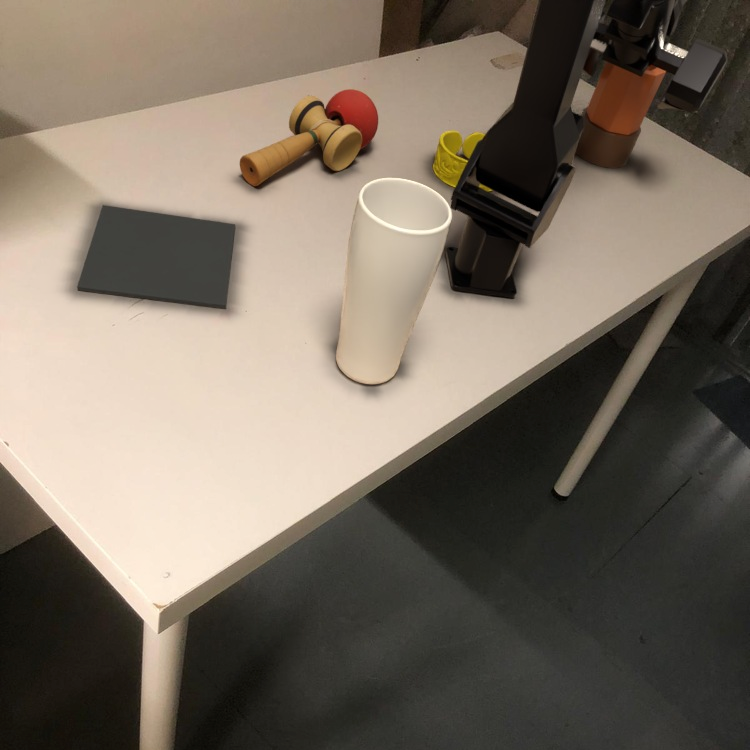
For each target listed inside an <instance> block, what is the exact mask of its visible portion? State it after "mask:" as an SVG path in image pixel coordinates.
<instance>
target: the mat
mask: <svg viewBox="0 0 750 750" xmlns="http://www.w3.org/2000/svg"><path fill="white" fill-rule="evenodd" d="M235 233H236V224H235V223H230V222H221V221H216V220H208V219H201V218H195V217H189V216H182V215H181V216H180V215H175V214H174V215H173V214H169V213H168V214H167V213H159V212H154V211H147V210H139V209H133V208H126V207H120V206H119V207H118V206H111V205H107V204H106V205H105V204H103V205H102V206H101V210H100V213H99V216H98V219H97V222H96V225H95V229H94V232H93V235H92V238H91V240H90V245H89V248H88V251H87V254H86V258H85V260H84V264H83V266H82V270H81V273H80V276H79V280H78V282H77V286H76V289H77V291H81V292H88V293H94V294H95V293H96V294H102V295H103V294H104V295H112V296H119V297H127V298H133V299H143V300H152V301H160V302H168V303H175V304H184V305H191V306H199V307H207V308H214V309H215V308H216V309H223V310H225V309H226V308H227V301H228V300H227V299H228V291H229V283H230V275H231V267H232V258H233V250H234V242H235V241H234V240H235Z"/></svg>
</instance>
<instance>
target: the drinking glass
mask: <svg viewBox="0 0 750 750" xmlns="http://www.w3.org/2000/svg"><path fill="white" fill-rule="evenodd" d="M452 218H453V211H452V209H451V205H450V203H448V201H447V199H445V198H444V197H443V196H442V194H440V193H439V192H437V191H435V190H434V189H433V188H431V187H429V186H427V185H425V184H423V183H420V182H418V181H414V180H412V179H407V178H401V177H382V178H377V179H374V180H373V179H372V180H371V181H368V182H367V183H366V184H364V185H363V186H362V187H361V188H360V190H359V192H358V197H357V200H356V204H355V209H354V212H353V216H352V221H351V225H350V232H349V237H348V243H347V250H346V251H347V252H346V260H345V270H344V271H345V272H344V284H343V292H342V305H341V315H340V325H339V326H340V327H339V334H338V340H337V345H336V351H335V361H336V364H337V366H338V368H339V370H340V371H341V373H343V374H344V375H345V376H346V377H347V378H349V379H351V380H353V381H355V382H357V383H360V384H364V385H379V384H383V383H386V382H388V381H389V380H391V379H392V378H393V377H394V376H395V375H396V373H397V372H398V370H399V368H400V364H401V361H402V357H403V354H404V352H405V349H406V347H407V345H408V342H409V339H410V337H411V334H412V332H413V330H414V328H415V324H416V322H417V320H418V317H419V316H420V313H421V310H422V307H423V305H424V303H425V300H426V298H427V296H428V293H429V291H430V289H431V286H432V284H433V282H434V279H435V276H436V274H437V271H438V268H439V266H440V263H441V260H442V257H443V253H444V252H445V246H446V243H447V240H448V236H449V231H450V228H451V223H452V221H453V219H452Z"/></svg>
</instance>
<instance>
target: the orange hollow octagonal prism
mask: <svg viewBox="0 0 750 750" xmlns="http://www.w3.org/2000/svg"><path fill="white" fill-rule="evenodd" d="M666 73H667V72H666V71H664V70H662V69H660V68H657V67H655V66H653V65H650V66H649V67H647V69H646V70H645V72H644V74H643V76H642V77H640V76H638V75H636V74H634V73H631V72H629V71H627V70H625V69H622V68H620V67H618V66H616V65H613V64H611V63H609V62H607V61H605V64H604V67H603V69H602V71H601V74H600V75H599V78H598V81H597V83H596V86H595V88H594V91H593V93H592V96H591V98H590V100H589V102H588V105H587V107H588V108H587V110H586V112H587V114H588V117H589V119H590V121H591V122H593V123H594V124H596V125H598V126H599V127H601V128H603V129H605V130H606V131H609V132H613V133H619V134H624V135H630V134H632V133H634V132H636V131H638V130H639V128H641V126H642V124H643V121H644V120H645V117H646V115H647V113H648V111H649V108H650V107H651V104H652V102H653V100H654V98H655V96H656V94H657V92H658V89H659V88H660V85H661V83H662V81H663V79H664V77H665V75H666Z"/></svg>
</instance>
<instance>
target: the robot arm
mask: <svg viewBox="0 0 750 750" xmlns="http://www.w3.org/2000/svg"><path fill="white" fill-rule="evenodd" d="M606 1H607V0H538V4H537V9H536V11H535V12H536V13H535V16H534V19H533V24H532V28H531V31H530V36H529V40H528V44H527V48H526V52H525V56H524V60H523V64H522V67H521V72H520V76H519V79H518V84H517V88H516V91H515V92H516V93H515V95H514V96H515V97H514V100H513V102H512V103H511V104H510V105H509V106H508V107H507V108H506V110H505V111H504V112H503V113H502V114H501V115H500V116H499V118H497V120H496V121H495V122H494V123H493V125H492V126H491V127H490V128H489V129H488V130H487V132H486V133H484V134H485V136H484V137H483V139H482V140H480V141H478V143H477V144H476V146H475V148H474V150H473V152H472V154H471V156H470V158H469V159H468V162H467V164H466V166H465V168H464V170H463V172H462V174H461V176H460V179H459V181H458V184H457V185H456V187H454V189H453V191H452V194H451V195H452V196H450V197H451V198H450V208H451V210H454V211H458V212H459V213H462V214H464V215H465V216H467V219H466V222H465V224H464V227H463V231H462V235H461V237H460V240H459V242H458V246H451V245H449V246H446V248H445V257H446V264H447V270H448V275H449V281H450V285H451V288H452V289H453V290H455V291H459V292H468V293H473V294H481V295H488V296H497V297H504V298H511V299H512V298H515V297H517V294H518V291H517V286H516V283H515V279H514V275H513V269H514V267H515V264H516V262H517V260H518V257H519V254H520V252H521V250H522V247H523V245H524V247H525V248H527V249H531V248H532V247H533V246H534V245H535V244H536V243H537V242H538V241H539V239H540V238H541V237H542V236H543V235H544V234H545V233H546V232H547V231H548V229H549V228H550V226H551V224H552V222H553V220H554V218H555V216H556V214H557V212H558V210H559V207H560V205H561V204H562V202H563V199H564V197H565V195H566V194H567V191H568V189H569V187H570V185H571V184H572V181H573V178H574V176H575V172H576V167H575V166H573V162H574V158H575V156H576V153H575V152H576V149H577V146H578V142H579V139H580V137H581V134H582V132H583V129H584V119H583V116H581V115H582V114H581V115H580V114H578V113H576V112H574V111H573V108H572V104H573V100H574V98H575V95H576V92H577V88H578V86H579V82H580V79H581V76H582V73H583V74H584V75H586V76H587V77H589V78H590V79H591V78H592V79H593V77H594V75H595V73H596V71H597V68H598V63H599V53H601V60H602V61H605V62H606V61H607V62H609V63H611V64H613V65H616V66H618V67H620V68H622V69H625V70H627V71H629V72H631V73H634V74H636V75H638V76H640V77H642V76H643V74H644V72H645V70H646V69H647V67H649V66H650V65H653V66H655V67H657V68H660V69H662V70H664V71H666V73H669V74H671V75H673V77H672V79H671V81H670V82H669V85H668V86H667V88H666V90H665V92H664V93H663V95H662V97H661V98H660V100H659V102H658V103H657V106H656V107H657V109H659V110H664V109H670V110H671V109H673V110H677V111H680V112H683V111H685V112H687V113H689V114H693V113H696V112H699V110H700V109H701V107H702V105H703V104H704V102H705V101H706V99H707V97H708V95H710V92H711V90H712V89H713V87H714V85H715V84H716V82H717V80H718V79H719V77H720V76H721V73H722V72H723V70H724V68H725V67H726V64H727V62H728V53H727V50H725V49H724V48H721V47H718V46H716V45H714V44H711V43H710V42H706V41H705V40H703V39H701V38H696V39H695V40H694V41H693V43H692V44H691V46H690V47H689V49H688V50H687V49H684V48H681V47H680V46H678V45H674V44H672V43H670V42H668V41H666V36H667V37H669V38H670V37H671V36H672V35H673V33H674V31H675V29H676V28H677V26H678V22H679V18H680V14H681V13H682V11H683V9H684V6H685V4H686V3H687V2H688V0H612V1H611V2H610V4H609V7H608V9H607V10H606V11H607V12H604V11H603V10H604V7H605V5H606ZM606 16H607V17H608V18H611V21H610V22H609V24H608V25H607V24H604V23H605V18H606ZM480 184H482V185H483V186H485V187H487V188H489V189H491V190H492V191H494V192H495V193H498V194H500V195H502V196H504V197H505V198H507V199H509V200H511V201H514V202H516V203H517V204H519V205H522V206H524V207H526V208H528V209H529V210H532V211H533V212H535V213H538V214H537V215H536V214H534V213H532V212H530V211H528V210H525V208H522V207H520V206H518V205H515V204H514V203H512V202H510V201H508V200H506V199H504V198H502V197H500V196H498V195H496V194H494V193H492V192H491V191H489V192H488V191H486V190H484V189H482V188H480V187H479V185H480Z"/></svg>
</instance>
